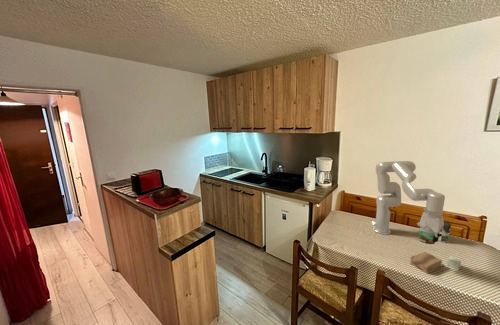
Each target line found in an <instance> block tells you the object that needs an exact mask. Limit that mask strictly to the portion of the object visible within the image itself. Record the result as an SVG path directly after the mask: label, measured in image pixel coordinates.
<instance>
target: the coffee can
mask: <svg viewBox="0 0 500 325" xmlns="http://www.w3.org/2000/svg"><path fill="white" fill-rule="evenodd" d="M443 229H444V231H445V232H446V234H447V235H445V236H440V237H439V239H438V242H439V243H443V244H444V243H448V242H449V239H450V234H451V229H452V223H450V222H449V221H447V220H444V227H443ZM440 234H442V232H440Z"/></svg>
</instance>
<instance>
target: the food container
mask: <svg viewBox="0 0 500 325" xmlns="http://www.w3.org/2000/svg"><path fill="white" fill-rule="evenodd" d="M435 234H436V233H434V232H433V230H429V229H426V228H422V227H419V242H421V243H422V244H423V243H424V244H427V245H435V243H436V242H435V243H434V242H433V238H434V236H435Z"/></svg>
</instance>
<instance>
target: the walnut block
mask: <svg viewBox="0 0 500 325" xmlns="http://www.w3.org/2000/svg"><path fill="white" fill-rule="evenodd" d="M442 262H443V260H442V259H441V258H439V257H436V256H434V255H432V254H431V253H429V252H427V251H423V252H421V253H418V254H416V255H413V256H411V257H410V265H411V266H414V267H415V268H417V269H418V270H420V271H422V272H423V273H425V274H429V273H431V272H433V271H435V270H438V269H440V268H441V267H442ZM437 268H438V269H437ZM430 271H431V272H430Z"/></svg>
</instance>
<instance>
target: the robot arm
mask: <svg viewBox="0 0 500 325" xmlns="http://www.w3.org/2000/svg"><path fill="white" fill-rule="evenodd" d="M416 168H417V166H416V164H415V163H414V162H413V161H411V160H401V161H399V160H398V161H382V162H379V163H377V165H376V167H375V173H376V178H377V190H378V192H379V194H381V195H378V196H377V197H376V200H375V202H376V214H375V215H376V216H375V221H372V222H371V225H372V226H373V227H372V230H373V231H375V233H377V234H380V235H385V236H386V235H390V234H391V229H390V222H391V221H390V219H391V210H390V209H389V208H393V207H394V208H395V207H400V206H401V205H402V191H403V192H404V194H405V195H406V196H407V197H408V198H409V200H412V201H415V202H419V201H423V202H424V201H426V205H425V207H423V208H422V209H423V210H424V211H423V212H422V215H421V217H420V220H419V221H418V222H416V224H417V226H418V228H420V227H422V228H426V229H429V230H433V232H434V233H436V234H435V236H434V238H433V242H434V243H438V242H439V241H438V239H439V237H440V236H445V235H447V234H446V232H445V231H444V229H443V227H444V221H445V220H444V216H443V211H444V206H445V199H446V197H445V195H444V194H443V193H441V192H437V191H436V190H434V189H432V188H414V187H413V186H412V184H411V183H412V182H414V181H415V180H416V179H417V174H415V170H416ZM388 173H395V175H397V177H398V178H399V179H400V180H401V181H402V183H401V185H400V184H399V183H398V182H396V181H391V177H390V175H389V174H388ZM401 186H402V187H401ZM383 194H384V195H383ZM440 232H442V234H440Z"/></svg>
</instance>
